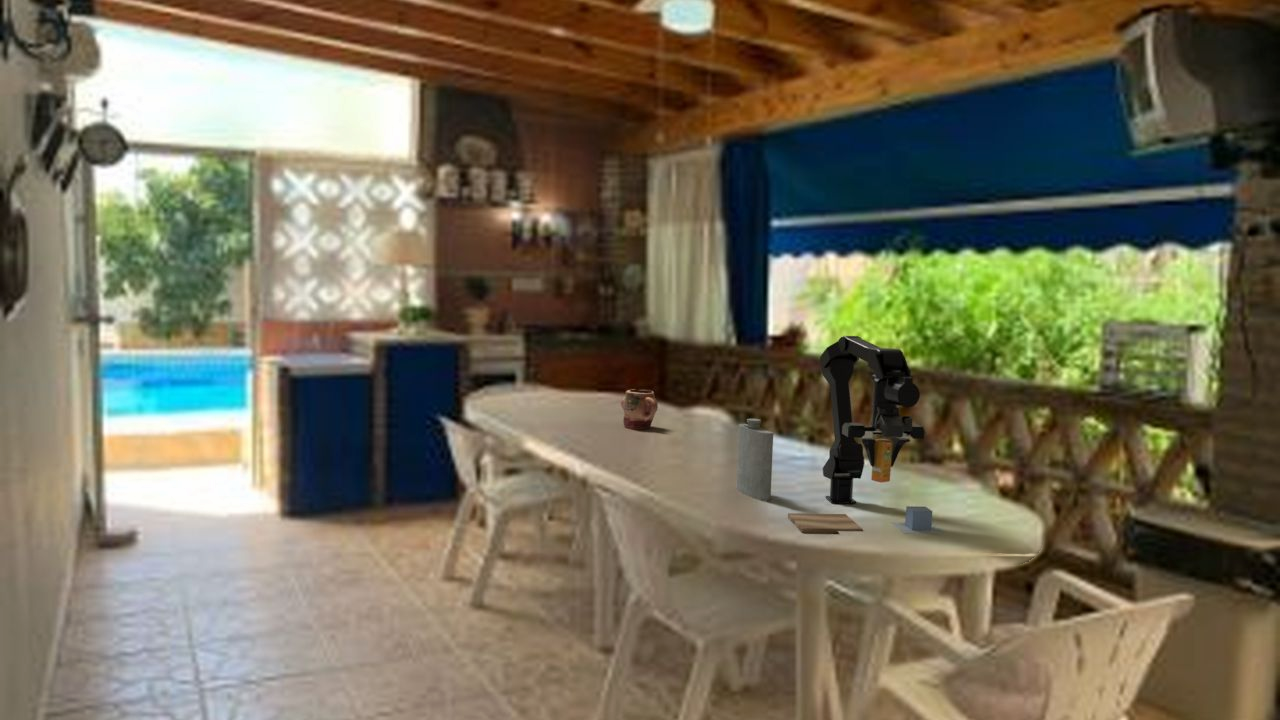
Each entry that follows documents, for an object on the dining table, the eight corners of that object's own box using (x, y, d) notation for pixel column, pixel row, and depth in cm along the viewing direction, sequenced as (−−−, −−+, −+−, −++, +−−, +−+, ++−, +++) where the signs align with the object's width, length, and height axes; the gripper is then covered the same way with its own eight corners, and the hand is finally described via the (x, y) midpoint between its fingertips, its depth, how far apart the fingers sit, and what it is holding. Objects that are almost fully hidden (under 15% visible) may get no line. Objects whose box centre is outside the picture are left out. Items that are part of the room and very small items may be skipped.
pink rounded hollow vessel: (669, 430, 367) (671, 393, 365) (642, 433, 359) (643, 394, 358) (637, 423, 383) (638, 386, 381) (610, 425, 375) (611, 388, 374)
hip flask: (772, 500, 259) (776, 423, 257) (758, 501, 257) (761, 423, 256) (745, 487, 274) (748, 414, 272) (731, 488, 272) (734, 414, 270)
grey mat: (889, 524, 237) (890, 522, 237) (931, 525, 238) (931, 522, 238) (904, 535, 227) (904, 533, 227) (947, 536, 228) (947, 533, 228)
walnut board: (787, 517, 241) (788, 513, 241) (845, 518, 242) (845, 513, 242) (801, 532, 227) (801, 528, 227) (862, 533, 228) (862, 528, 228)
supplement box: (881, 483, 239) (883, 441, 238) (870, 480, 241) (872, 439, 241) (891, 481, 240) (893, 440, 240) (880, 479, 243) (882, 438, 242)
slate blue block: (905, 525, 234) (906, 506, 234) (924, 525, 235) (925, 506, 234) (912, 530, 230) (913, 510, 229) (931, 530, 230) (932, 511, 230)
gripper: (856, 405, 230) (853, 472, 232) (936, 407, 232) (932, 473, 233) (843, 399, 242) (839, 463, 243) (918, 400, 243) (915, 464, 244)
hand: (881, 466), depth 241 cm, fingers closed on supplement box, 4 cm apart
